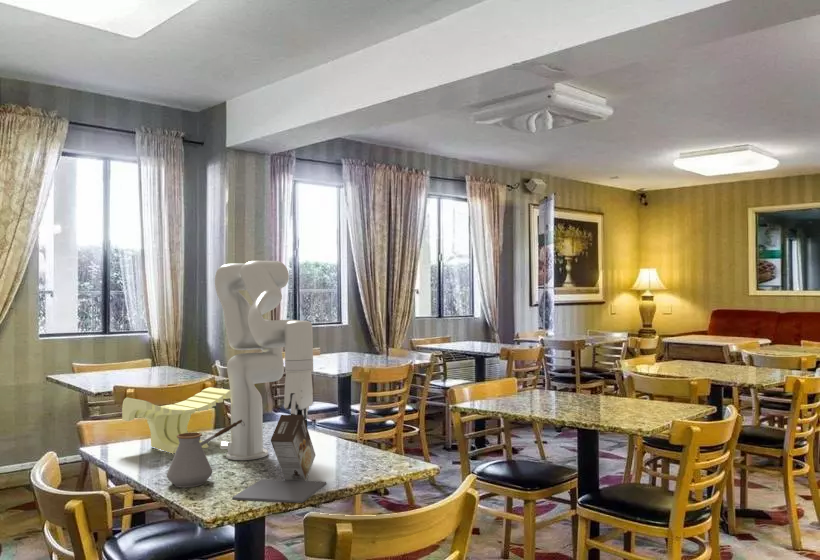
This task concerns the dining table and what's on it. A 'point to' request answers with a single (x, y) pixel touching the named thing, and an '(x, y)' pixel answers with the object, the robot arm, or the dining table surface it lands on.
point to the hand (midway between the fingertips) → (300, 434)
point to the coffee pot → (192, 459)
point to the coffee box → (293, 447)
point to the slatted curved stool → (171, 416)
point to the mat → (280, 490)
